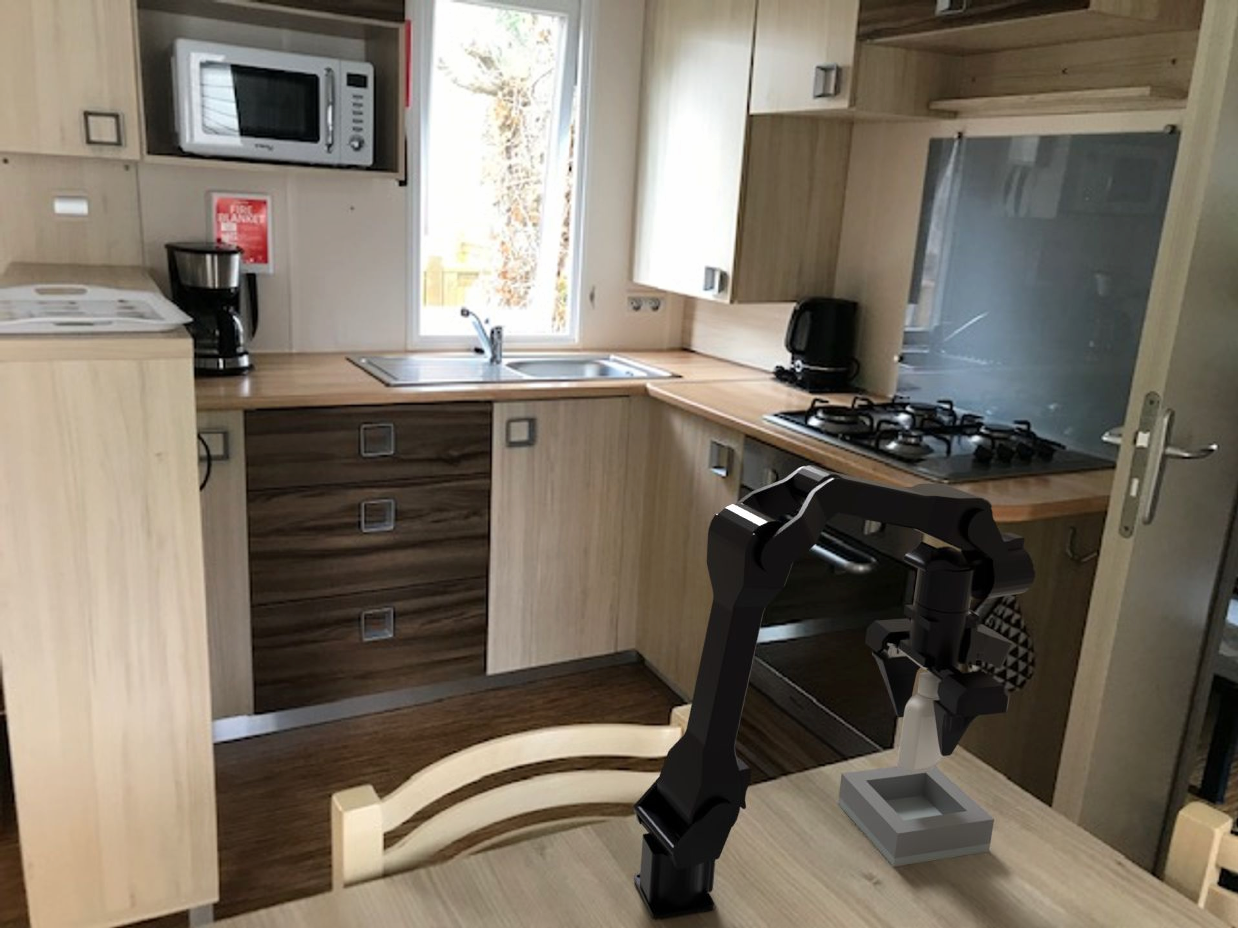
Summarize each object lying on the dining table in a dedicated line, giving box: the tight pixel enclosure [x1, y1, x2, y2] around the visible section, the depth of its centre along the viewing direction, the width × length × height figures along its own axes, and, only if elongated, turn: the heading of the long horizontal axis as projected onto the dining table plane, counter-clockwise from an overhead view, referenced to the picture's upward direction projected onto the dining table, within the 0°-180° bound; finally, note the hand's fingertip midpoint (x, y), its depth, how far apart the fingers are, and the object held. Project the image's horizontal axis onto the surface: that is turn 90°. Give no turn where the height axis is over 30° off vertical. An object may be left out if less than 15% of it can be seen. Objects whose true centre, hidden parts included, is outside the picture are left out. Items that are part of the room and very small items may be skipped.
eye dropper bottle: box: [896, 671, 942, 774], centre depth 112 cm, size 4×6×12 cm
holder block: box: [837, 765, 995, 867], centre depth 114 cm, size 12×12×4 cm
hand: (922, 735), depth 112 cm, fingers closed on eye dropper bottle, 8 cm apart
